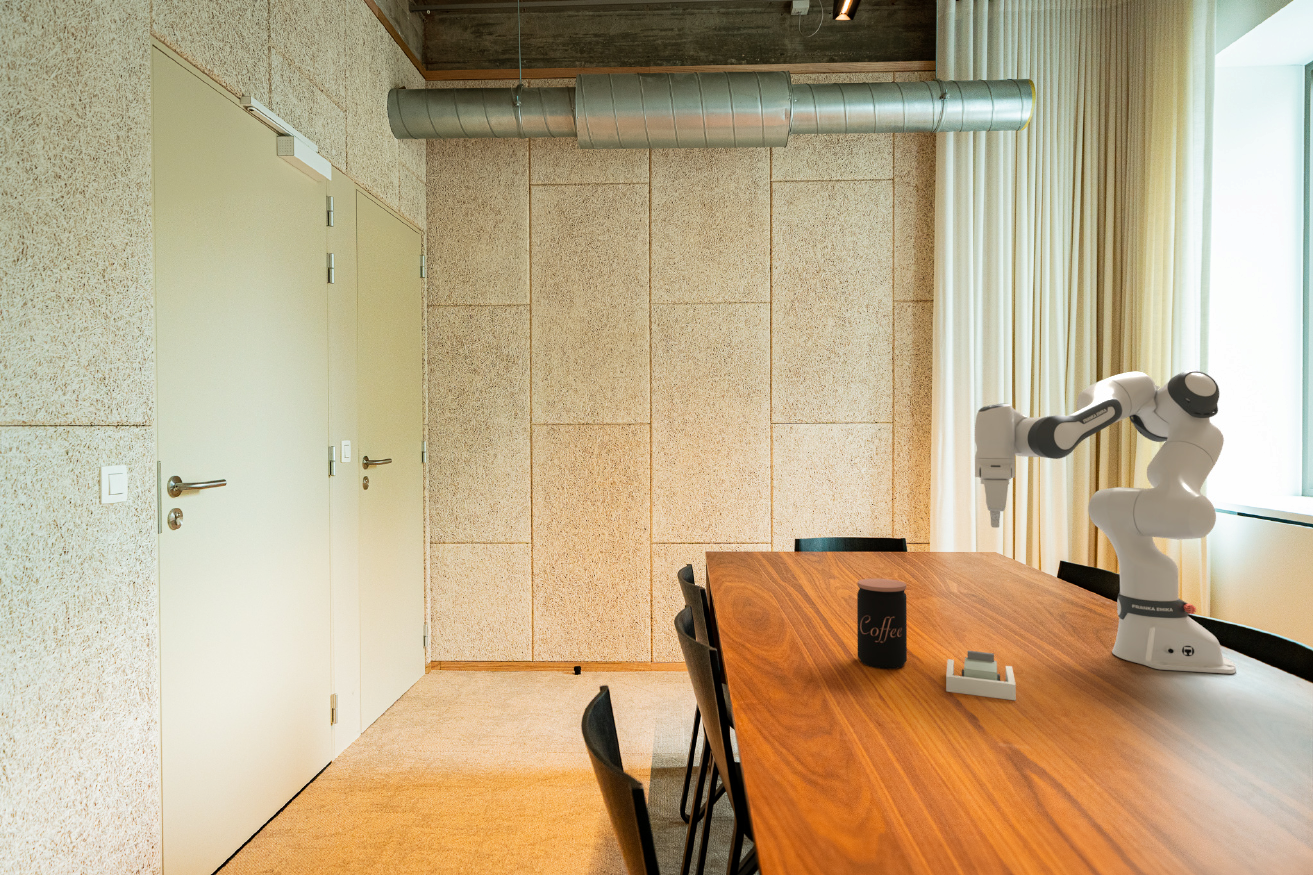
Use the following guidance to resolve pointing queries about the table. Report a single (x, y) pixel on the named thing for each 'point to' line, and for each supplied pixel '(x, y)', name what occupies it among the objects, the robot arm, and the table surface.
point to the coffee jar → (882, 623)
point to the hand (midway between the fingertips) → (995, 526)
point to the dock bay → (981, 684)
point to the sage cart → (980, 666)
